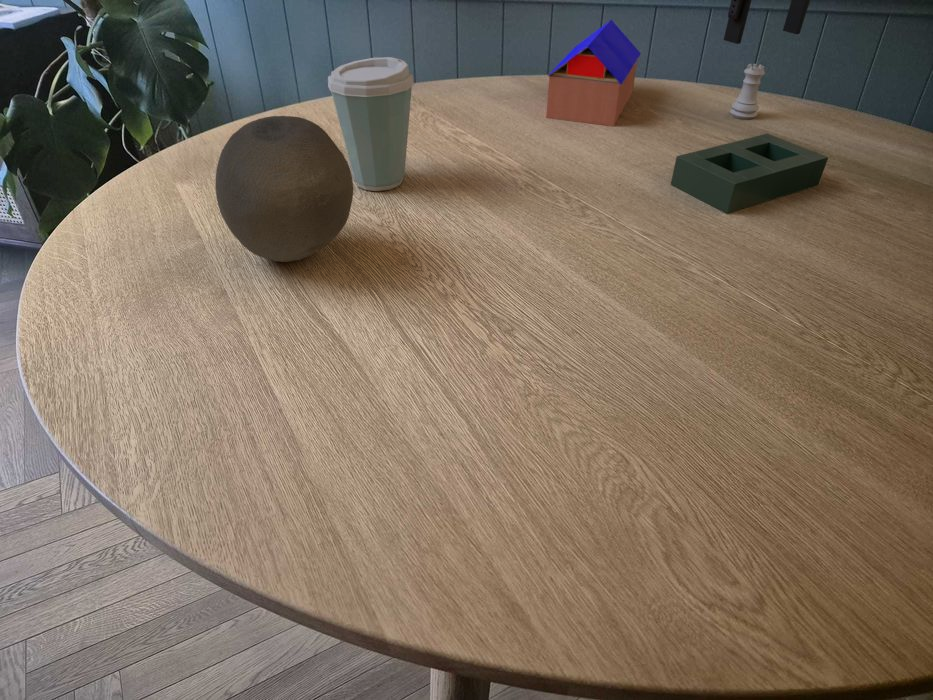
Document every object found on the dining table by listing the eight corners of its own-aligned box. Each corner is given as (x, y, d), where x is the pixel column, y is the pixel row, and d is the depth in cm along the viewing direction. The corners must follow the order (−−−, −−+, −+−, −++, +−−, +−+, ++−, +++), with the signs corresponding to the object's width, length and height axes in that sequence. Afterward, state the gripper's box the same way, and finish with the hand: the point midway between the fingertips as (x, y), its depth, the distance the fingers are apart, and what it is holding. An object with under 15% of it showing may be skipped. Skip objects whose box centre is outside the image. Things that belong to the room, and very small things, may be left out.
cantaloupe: (214, 289, 68) (176, 147, 59) (251, 225, 79) (223, 97, 70) (351, 290, 68) (334, 149, 59) (368, 226, 79) (356, 99, 70)
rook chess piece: (758, 113, 113) (771, 64, 108) (755, 121, 109) (769, 71, 104) (730, 109, 114) (743, 60, 109) (727, 117, 111) (740, 67, 106)
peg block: (759, 160, 96) (767, 133, 94) (818, 185, 89) (828, 157, 87) (670, 184, 89) (676, 155, 87) (726, 213, 82) (735, 183, 80)
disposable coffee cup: (357, 205, 84) (345, 82, 74) (326, 175, 91) (311, 60, 82) (431, 187, 88) (428, 69, 79) (396, 160, 95) (389, 49, 86)
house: (543, 118, 110) (549, 42, 103) (570, 84, 125) (577, 16, 118) (615, 127, 107) (626, 50, 100) (634, 91, 122) (645, 22, 114)
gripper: (841, -131, 98) (795, 23, 112) (722, -130, 89) (687, 40, 102) (887, -129, 93) (833, 33, 107) (767, -127, 83) (724, 51, 97)
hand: (762, 37), depth 104 cm, fingers open, 13 cm apart
